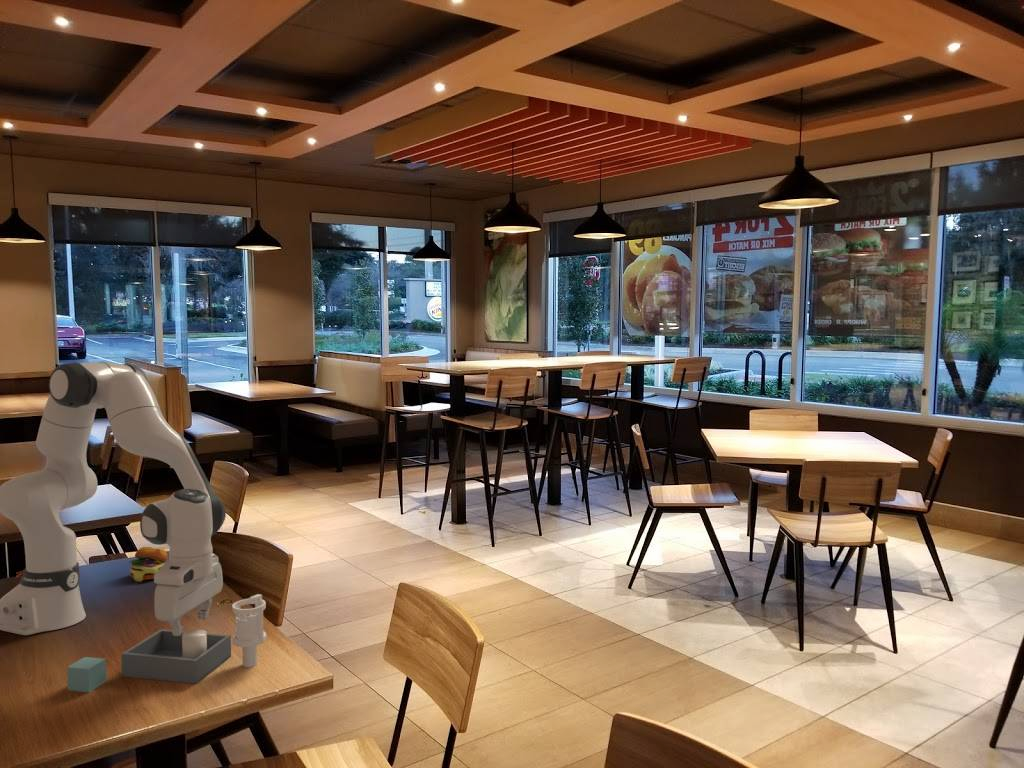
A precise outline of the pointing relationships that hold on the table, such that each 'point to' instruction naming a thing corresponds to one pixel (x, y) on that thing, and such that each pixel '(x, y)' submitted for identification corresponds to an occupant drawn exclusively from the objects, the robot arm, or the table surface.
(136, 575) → the cheeseburger
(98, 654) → the table surface
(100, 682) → the teal cube
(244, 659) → the grey slotted cylindrical housing
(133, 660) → the tote
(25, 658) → the table surface
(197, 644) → the cream capsule
